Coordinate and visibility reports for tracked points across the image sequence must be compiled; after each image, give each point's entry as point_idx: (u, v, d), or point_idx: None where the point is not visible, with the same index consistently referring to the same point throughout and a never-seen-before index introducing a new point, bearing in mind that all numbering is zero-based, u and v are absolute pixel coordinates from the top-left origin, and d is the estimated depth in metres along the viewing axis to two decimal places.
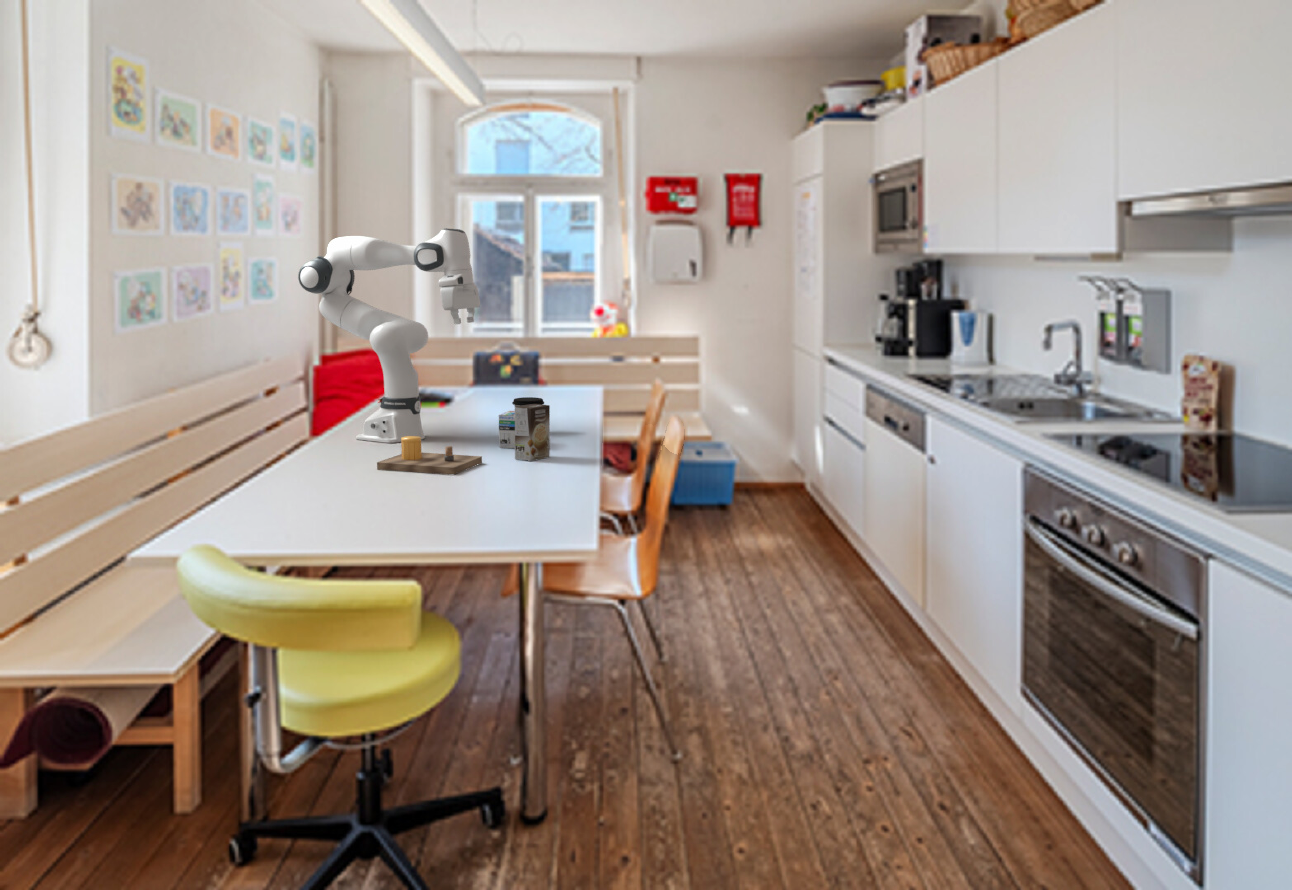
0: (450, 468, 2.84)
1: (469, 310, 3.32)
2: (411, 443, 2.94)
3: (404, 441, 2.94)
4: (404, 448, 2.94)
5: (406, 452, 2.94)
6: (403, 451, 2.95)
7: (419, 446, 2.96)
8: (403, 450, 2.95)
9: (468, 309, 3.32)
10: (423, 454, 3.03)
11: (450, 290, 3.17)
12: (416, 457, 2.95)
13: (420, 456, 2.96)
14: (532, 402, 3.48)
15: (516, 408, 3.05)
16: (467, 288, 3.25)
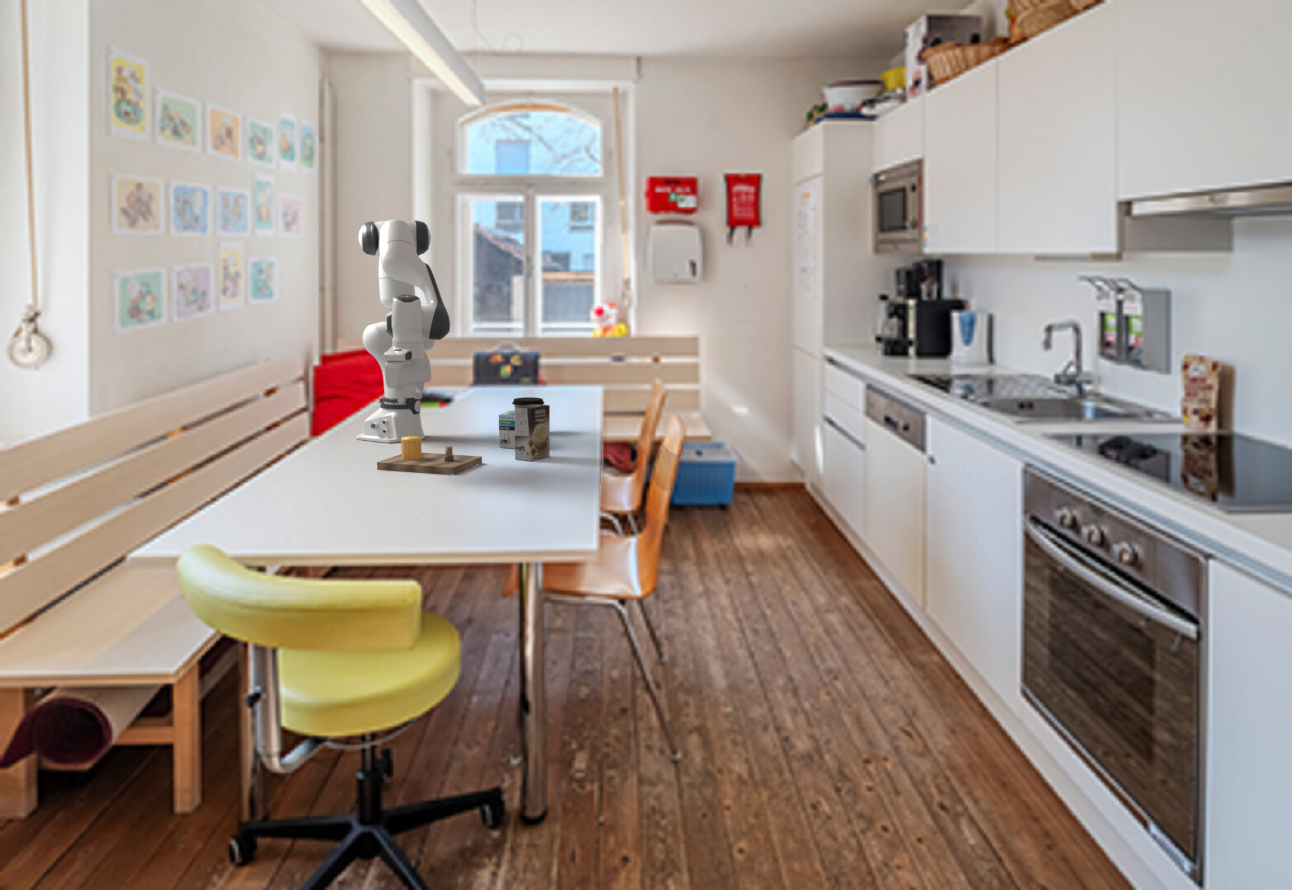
0: (450, 468, 2.84)
1: (418, 385, 2.99)
2: (411, 443, 2.94)
3: (404, 441, 2.94)
4: (404, 448, 2.94)
5: (406, 452, 2.94)
6: (403, 451, 2.95)
7: (419, 446, 2.96)
8: (403, 450, 2.95)
9: (417, 384, 2.99)
10: (423, 454, 3.03)
11: (395, 367, 2.83)
12: (416, 457, 2.95)
13: (420, 456, 2.96)
14: (532, 402, 3.48)
15: (516, 408, 3.05)
16: (416, 363, 2.91)
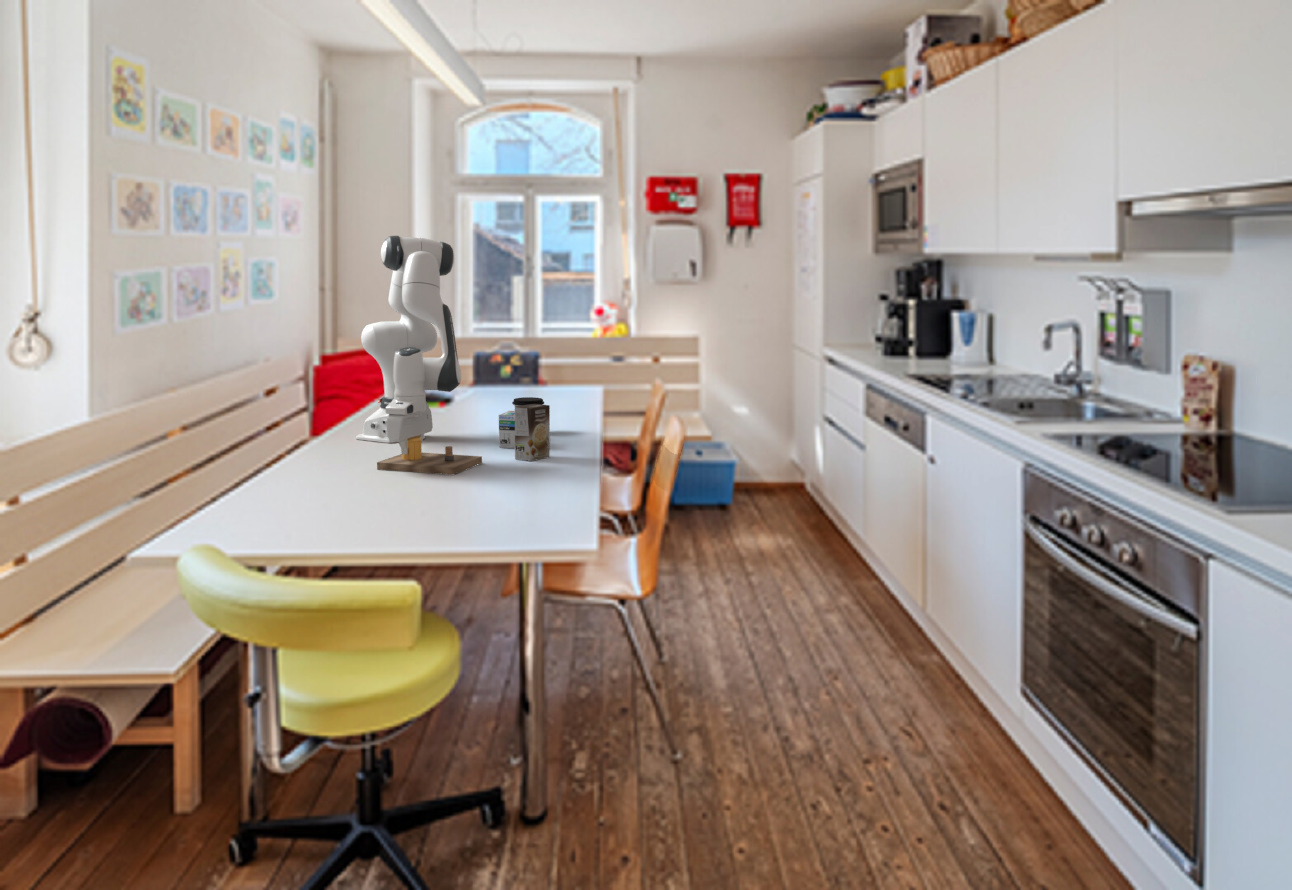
0: (450, 468, 2.84)
1: None
2: (411, 443, 2.94)
3: None
4: None
5: None
6: None
7: (419, 446, 2.96)
8: None
9: None
10: (423, 454, 3.03)
11: (397, 421, 2.86)
12: (416, 457, 2.95)
13: (420, 456, 2.97)
14: (532, 402, 3.48)
15: (516, 408, 3.05)
16: (418, 415, 2.93)
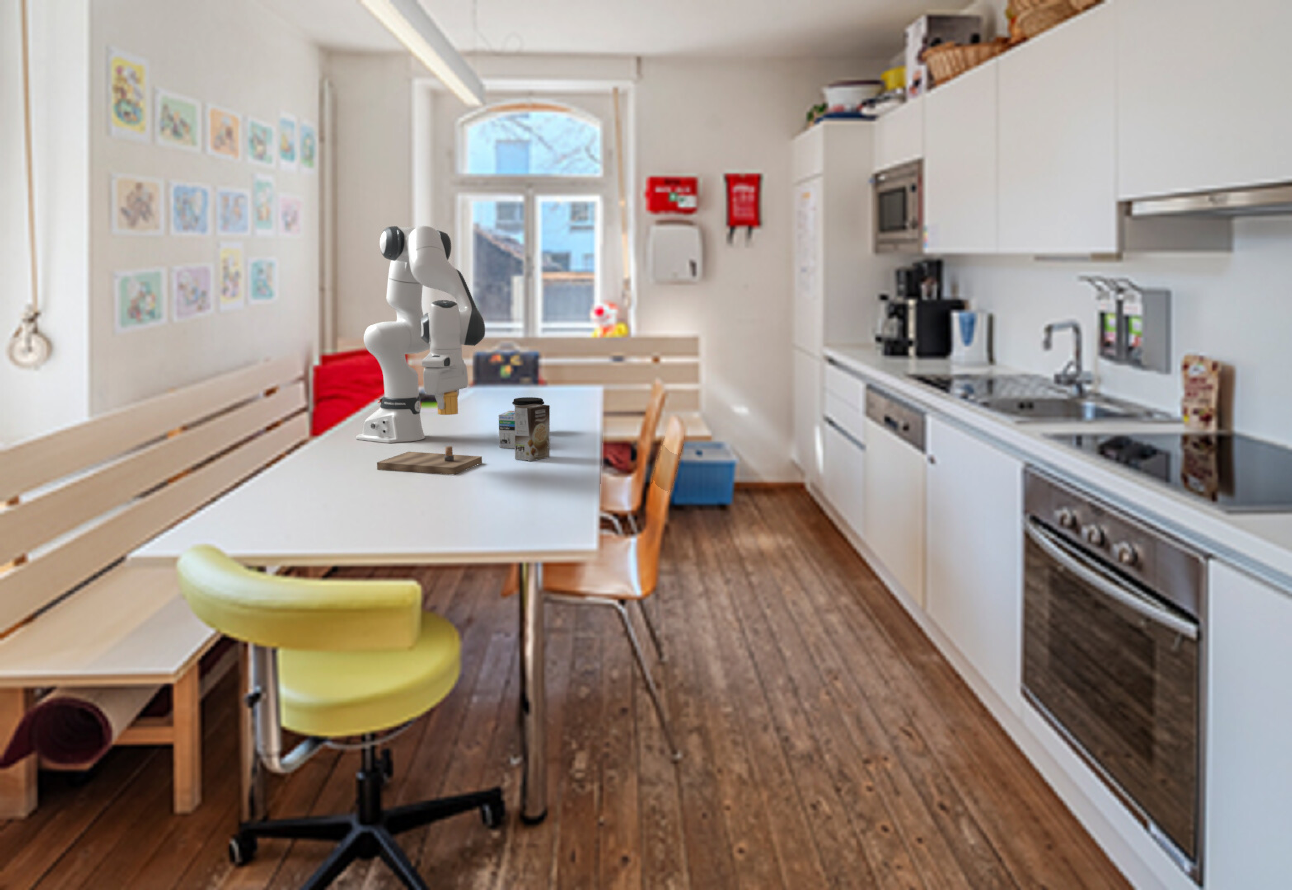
0: (450, 468, 2.84)
1: None
2: (448, 397, 2.88)
3: None
4: None
5: None
6: None
7: (455, 401, 2.90)
8: None
9: (452, 390, 2.94)
10: (423, 454, 3.03)
11: (434, 373, 2.80)
12: (453, 412, 2.89)
13: (456, 411, 2.91)
14: (532, 402, 3.48)
15: (516, 408, 3.05)
16: (454, 369, 2.88)
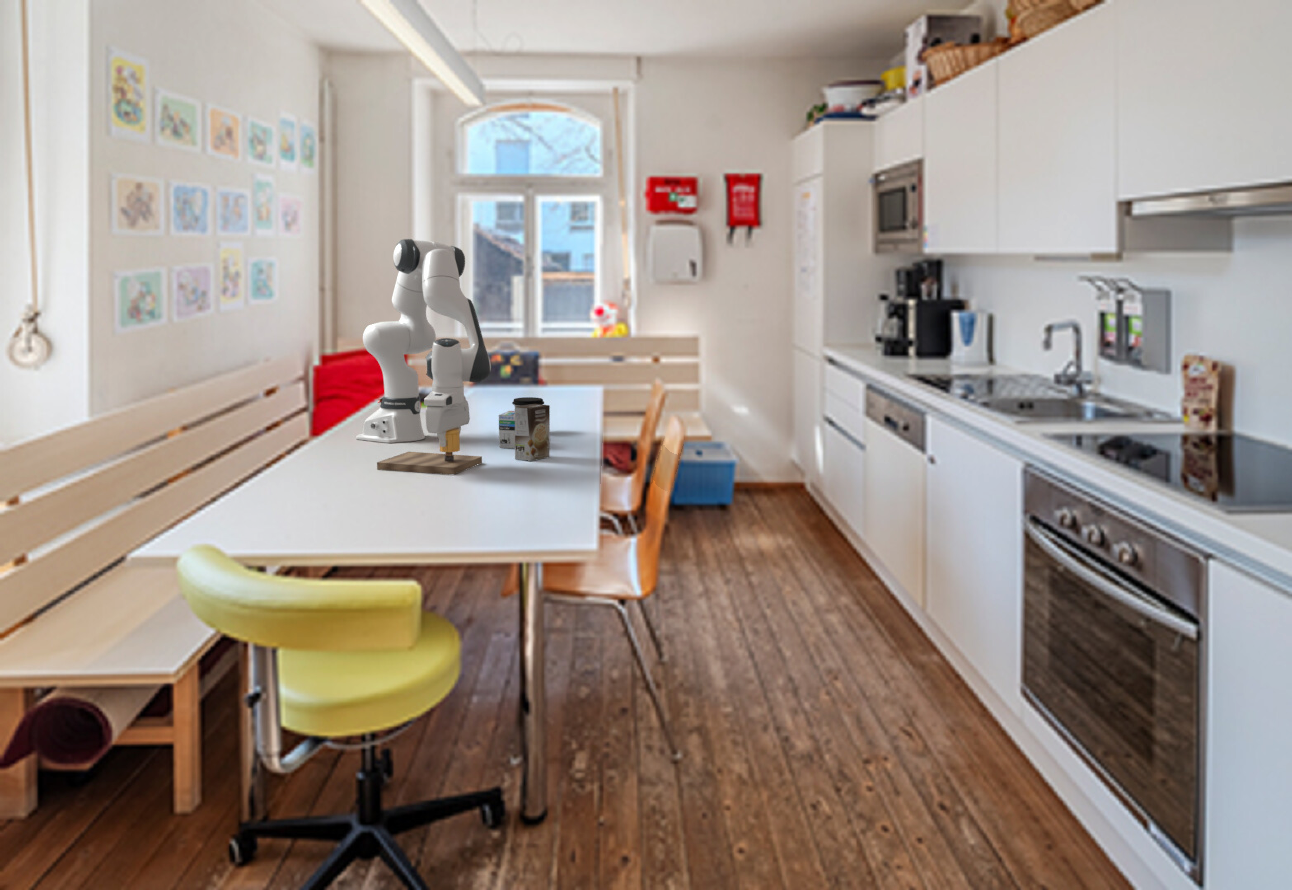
0: (450, 468, 2.84)
1: None
2: (449, 435, 2.90)
3: None
4: None
5: None
6: None
7: (457, 438, 2.92)
8: None
9: None
10: (423, 454, 3.03)
11: (436, 412, 2.82)
12: (454, 449, 2.91)
13: (458, 448, 2.93)
14: (532, 402, 3.48)
15: (516, 408, 3.05)
16: (456, 407, 2.90)
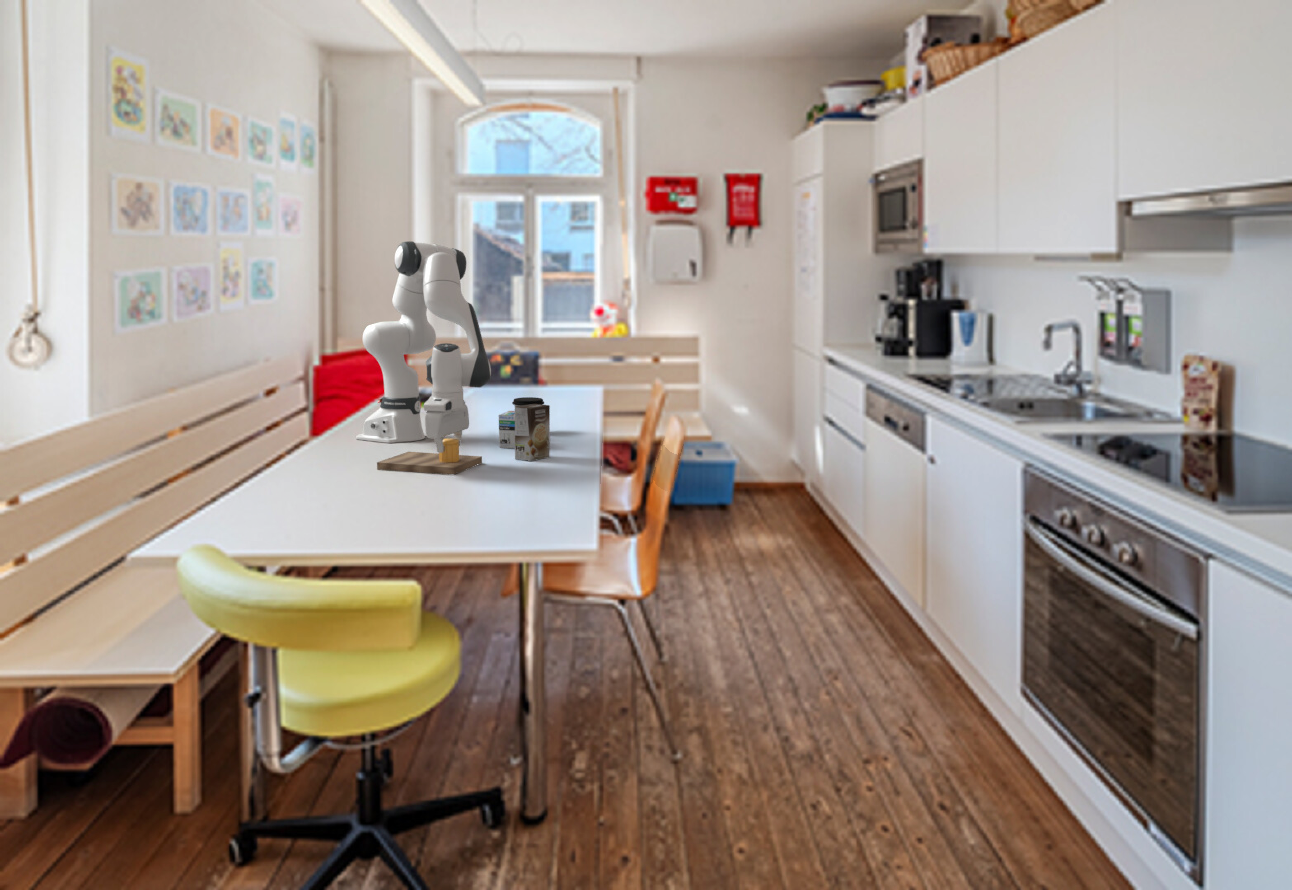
0: (450, 468, 2.84)
1: (456, 433, 2.98)
2: (449, 445, 2.91)
3: None
4: None
5: (444, 455, 2.91)
6: (441, 453, 2.92)
7: (457, 448, 2.92)
8: None
9: None
10: (423, 454, 3.03)
11: (436, 417, 2.82)
12: (454, 460, 2.92)
13: (458, 459, 2.93)
14: (532, 402, 3.48)
15: (516, 408, 3.05)
16: (456, 412, 2.90)
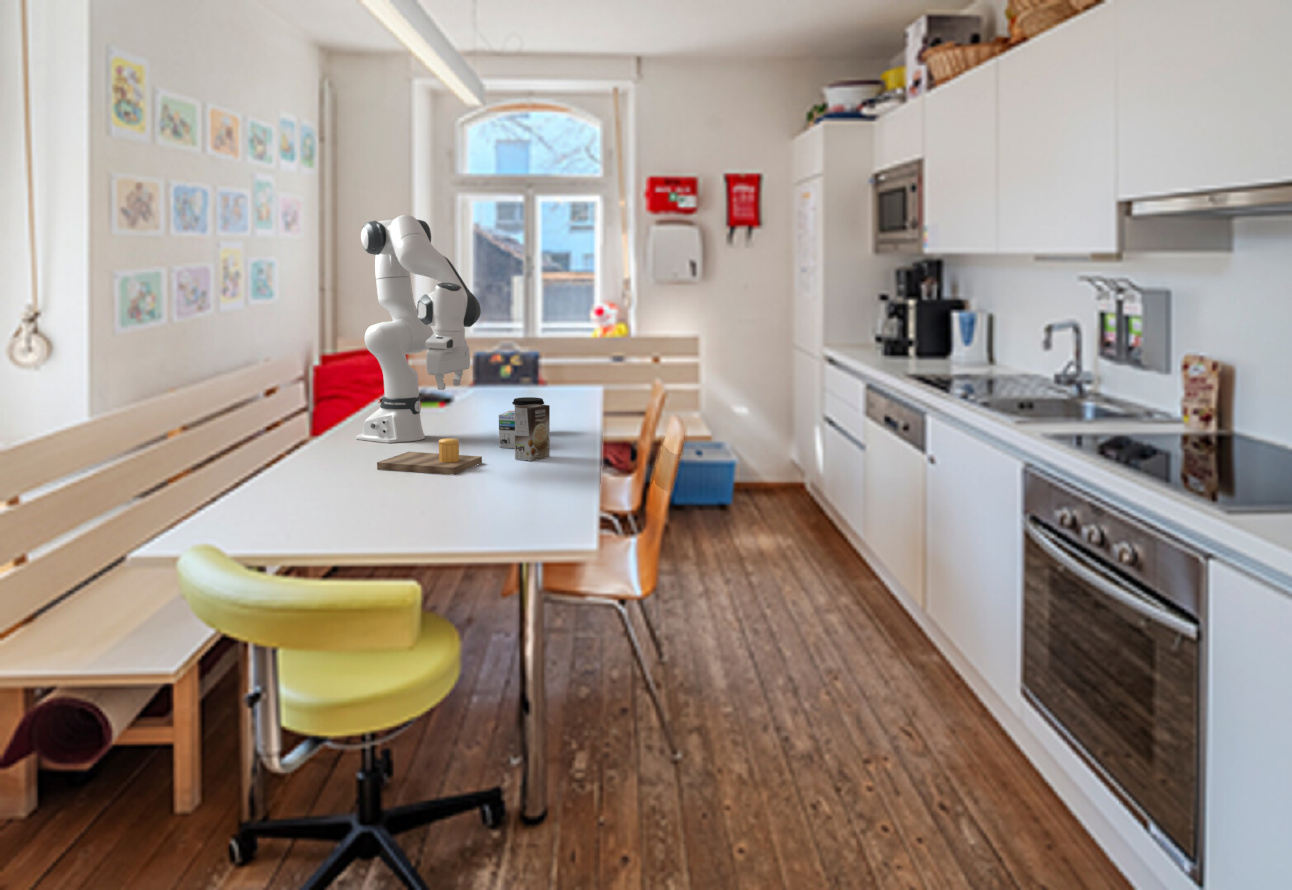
0: (450, 468, 2.84)
1: (457, 372, 3.03)
2: (449, 445, 2.91)
3: (442, 443, 2.91)
4: (442, 450, 2.91)
5: (444, 455, 2.91)
6: (441, 453, 2.92)
7: (457, 448, 2.92)
8: (441, 452, 2.91)
9: (456, 371, 3.03)
10: (423, 454, 3.03)
11: (437, 355, 2.88)
12: (454, 460, 2.92)
13: (458, 459, 2.93)
14: (532, 402, 3.48)
15: (516, 408, 3.05)
16: (457, 351, 2.95)
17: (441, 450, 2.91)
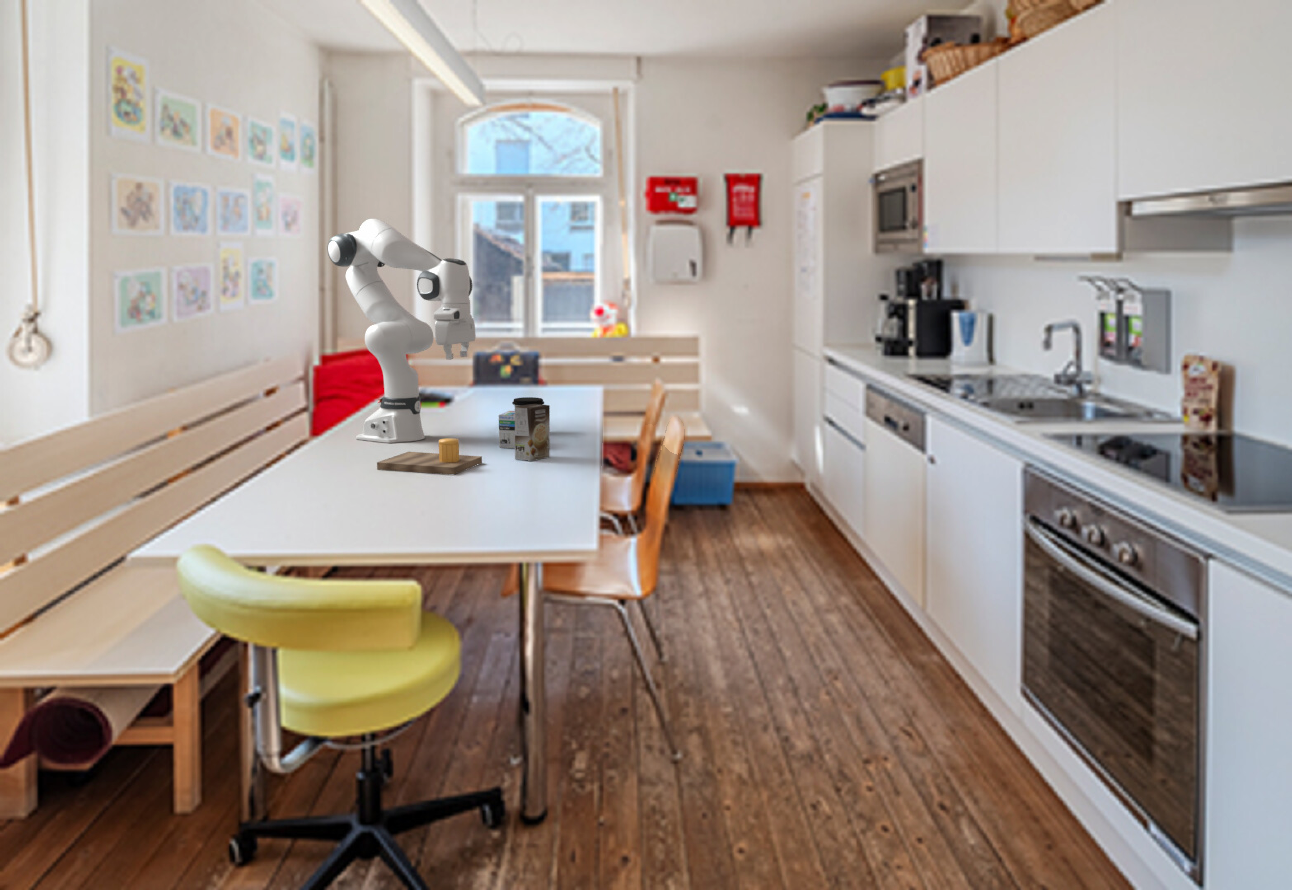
0: (450, 468, 2.84)
1: (463, 344, 3.19)
2: (449, 445, 2.91)
3: (442, 443, 2.91)
4: (442, 450, 2.91)
5: (444, 455, 2.91)
6: (441, 453, 2.92)
7: (457, 448, 2.92)
8: (441, 452, 2.91)
9: (462, 343, 3.19)
10: (423, 454, 3.03)
11: (445, 325, 3.03)
12: (454, 460, 2.92)
13: (458, 459, 2.93)
14: (532, 402, 3.48)
15: (516, 408, 3.05)
16: (463, 323, 3.11)
17: (441, 450, 2.91)
